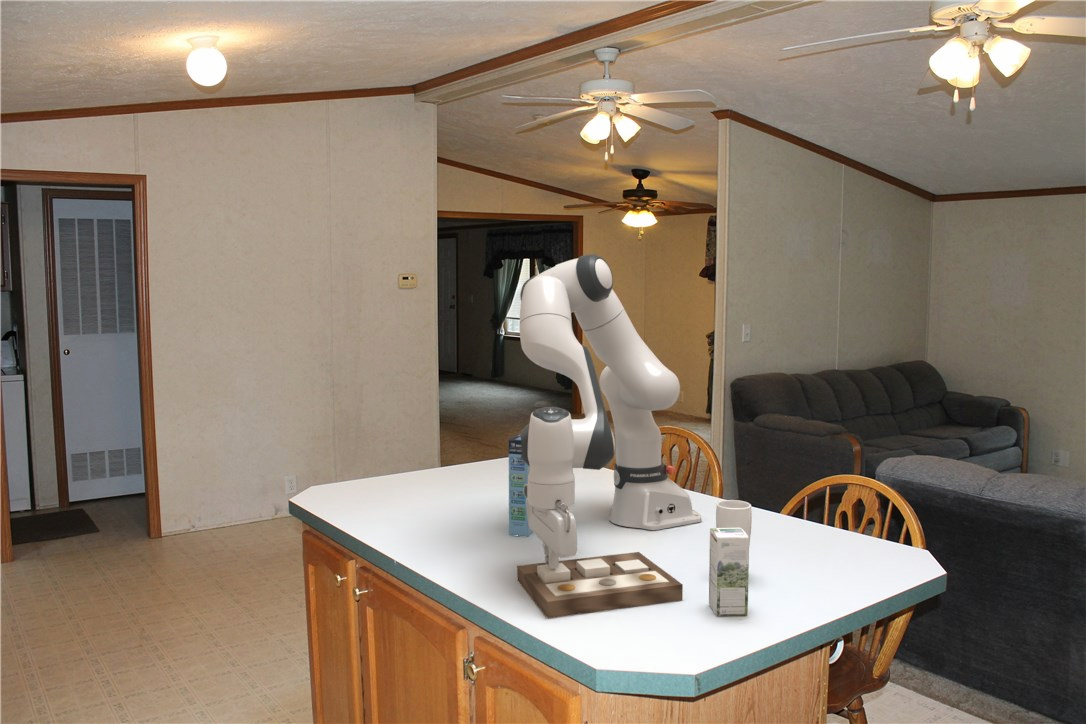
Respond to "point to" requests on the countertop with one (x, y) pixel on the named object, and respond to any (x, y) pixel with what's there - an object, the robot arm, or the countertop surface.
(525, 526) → the gum box
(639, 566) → the button
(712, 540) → the syrup box
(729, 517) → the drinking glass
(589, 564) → the button middle
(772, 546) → the countertop surface
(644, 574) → the button board
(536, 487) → the robot arm
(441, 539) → the countertop surface
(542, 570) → the button
